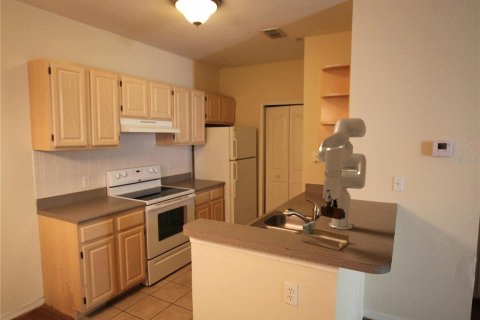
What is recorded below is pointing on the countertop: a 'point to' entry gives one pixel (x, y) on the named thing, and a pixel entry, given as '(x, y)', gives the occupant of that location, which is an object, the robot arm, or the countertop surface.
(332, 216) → the brick
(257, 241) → the countertop surface
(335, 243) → the rail board
